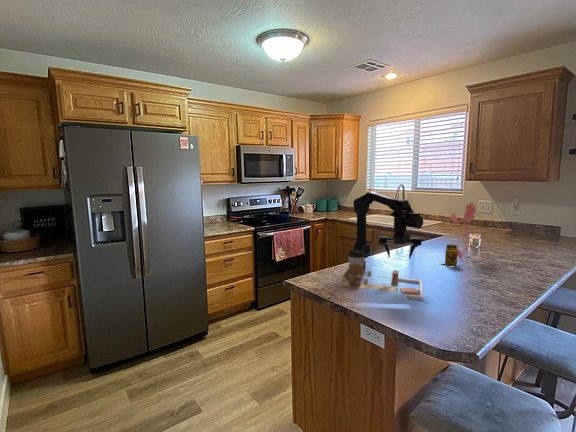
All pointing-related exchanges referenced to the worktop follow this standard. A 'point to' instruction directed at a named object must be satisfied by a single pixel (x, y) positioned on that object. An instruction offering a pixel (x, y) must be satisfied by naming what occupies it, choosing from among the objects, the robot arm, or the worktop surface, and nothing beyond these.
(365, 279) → the lane tray
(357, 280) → the walnut cube
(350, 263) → the coffee cup
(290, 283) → the worktop surface
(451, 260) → the condiment
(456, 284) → the worktop surface
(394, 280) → the tan rectangular frame
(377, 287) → the tan long flat piece
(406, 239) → the robot arm
